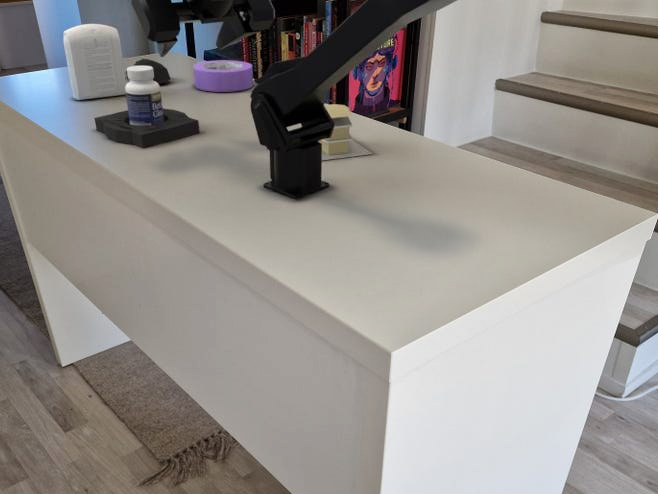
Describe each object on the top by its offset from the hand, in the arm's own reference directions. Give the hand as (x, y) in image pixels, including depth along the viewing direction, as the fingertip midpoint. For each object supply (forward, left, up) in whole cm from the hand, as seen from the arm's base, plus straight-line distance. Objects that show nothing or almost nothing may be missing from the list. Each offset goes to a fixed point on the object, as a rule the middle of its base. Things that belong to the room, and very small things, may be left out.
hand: (189, 50), depth 95 cm
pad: (+12, +1, -14) cm, 18 cm away
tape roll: (+27, -28, -14) cm, 41 cm away
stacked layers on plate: (-15, -14, -14) cm, 25 cm away
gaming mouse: (+43, -20, -14) cm, 49 cm away
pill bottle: (+11, +1, -14) cm, 18 cm away
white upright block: (+37, -6, -14) cm, 39 cm away
